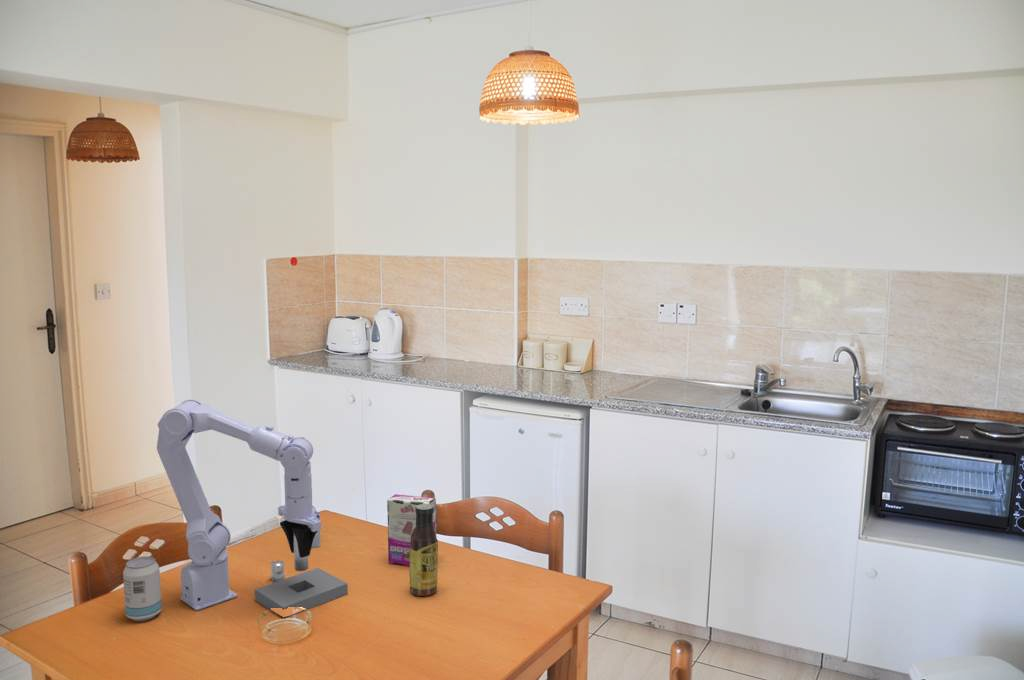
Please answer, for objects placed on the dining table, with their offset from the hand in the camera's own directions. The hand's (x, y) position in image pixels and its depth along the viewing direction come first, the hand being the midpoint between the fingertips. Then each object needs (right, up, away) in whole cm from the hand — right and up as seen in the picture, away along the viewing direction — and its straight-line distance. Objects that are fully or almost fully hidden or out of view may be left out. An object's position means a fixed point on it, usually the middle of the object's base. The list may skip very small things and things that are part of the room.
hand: (300, 553), depth 177 cm
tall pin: (0, -3, +1) cm, 3 cm away
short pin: (-8, -9, +10) cm, 16 cm away
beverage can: (-31, -11, -7) cm, 34 cm away
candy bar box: (+22, -8, +20) cm, 31 cm away
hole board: (0, -10, +1) cm, 10 cm away
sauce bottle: (+27, -10, +5) cm, 29 cm away
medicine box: (-6, -6, +32) cm, 33 cm away
